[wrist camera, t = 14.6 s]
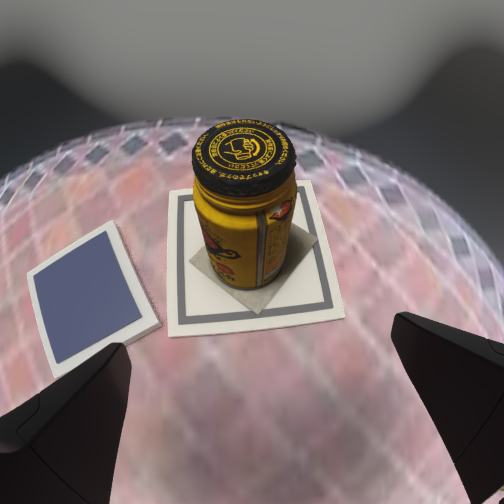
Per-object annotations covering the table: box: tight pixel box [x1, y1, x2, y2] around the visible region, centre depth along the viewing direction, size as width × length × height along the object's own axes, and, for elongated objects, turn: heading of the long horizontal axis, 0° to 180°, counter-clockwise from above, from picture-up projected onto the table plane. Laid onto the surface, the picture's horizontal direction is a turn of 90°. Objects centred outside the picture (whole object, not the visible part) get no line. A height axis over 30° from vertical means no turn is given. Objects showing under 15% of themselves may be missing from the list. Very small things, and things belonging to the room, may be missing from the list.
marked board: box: [167, 180, 345, 338], centre depth 25 cm, size 14×14×1 cm
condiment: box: [188, 119, 318, 315], centre depth 19 cm, size 7×8×12 cm
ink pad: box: [27, 220, 163, 379], centre depth 22 cm, size 11×11×2 cm
